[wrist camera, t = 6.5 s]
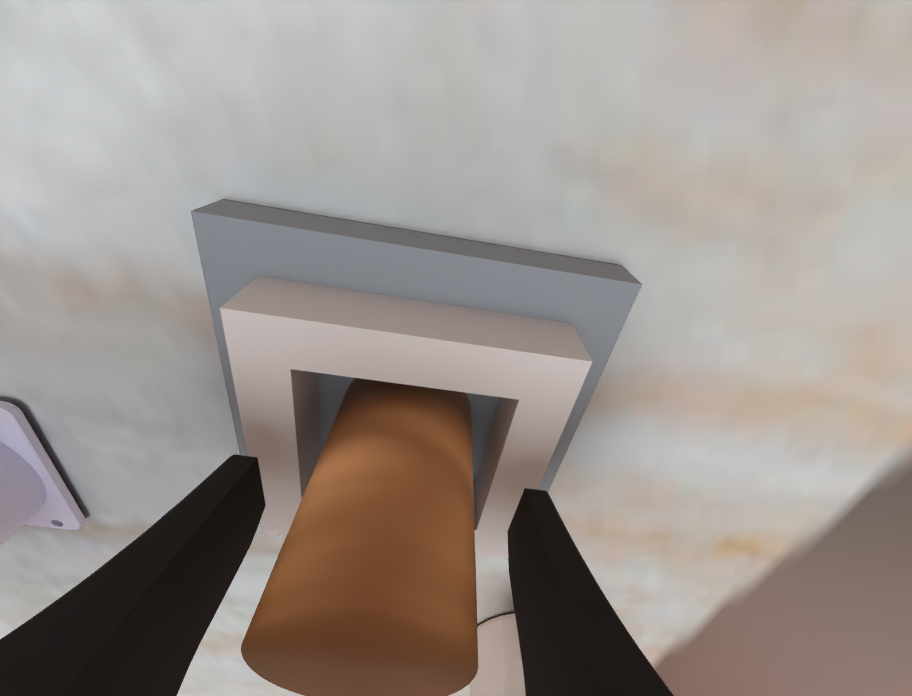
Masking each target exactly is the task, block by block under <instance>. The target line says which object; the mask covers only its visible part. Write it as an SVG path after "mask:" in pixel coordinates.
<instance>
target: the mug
mask: <svg viewBox="0 0 912 696" xmlns="http://www.w3.org/2000/svg"><path fill="white" fill-rule="evenodd" d="M477 636H478V671H477V674H476V676H475V678H474V679H473V680H472V681H471V682H470V696H526V693H525V683H524V674H523V665H522V658H521V651H520V645H519V638H518V631H517V624H516V617H515V613H513V614H508V615H502V616H499V617H496V618H493V619H490V620H488V621H486V622H484V623H483V624H481V625H479V626H478V627H477Z"/></svg>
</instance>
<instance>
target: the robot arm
mask: <svg viewBox="0 0 912 696" xmlns="http://www.w3.org/2000/svg"><path fill="white" fill-rule="evenodd" d="M265 506H266V504H265V498H264V492H263V487H262V481H261V475H260V469H259V463H258V457H251V456H242V455H232V456H231V457H229V458H228V459H227V460H226V461H225V462H224V463H223V464H222V465H221V466H219V467H218V468H217V469H216V470H215V471H214V472H213V473H212V474H211V475H210V476H209V477H207V478H206V479H205V480H204V481H203V482H202V483H201V484H200V485H199V486H197V487H196V488H195V489H194V490H193V491H192V492H191V493H190V494H188V495H187V496H186V497H185V498H184V499H183V500H182V501H181V502H179V503H178V504H177V505H176V506H175V507H174V508H172V509H171V510H170V511H169V512H168V513H167V514H165V515H164V516H163V517H162V518H161V519H160V520H158V521H157V522H156V523H155V524H154V525H153V526H151V527H150V528H149V529H148V530H147V531H145V532H144V533H143V534H142V535H141V536H139V537H138V538H137V539H136V540H134V541H133V542H132V543H131V544H129V545H128V546H127V547H126V548H124V549H123V550H122V551H121V552H119V553H118V554H117V555H116V556H114V557H113V558H112V559H111V560H109V561H108V562H107V563H106V564H104V565H103V566H102V567H101V568H99V569H98V570H97V571H95V572H94V573H93V574H91V575H90V576H89V577H87V578H86V579H85V580H83V581H82V582H81V583H80V584H78V585H77V586H75V587H74V588H73V589H71V590H70V591H69V592H67V593H66V594H65V595H63V596H62V597H61V598H59V599H58V600H56V601H55V602H54V603H52V604H51V605H49V606H48V607H47V608H45V609H44V610H42V611H41V612H40V613H38V614H37V615H35V616H34V617H33V618H31V619H30V620H28V621H27V622H25V623H24V624H22V625H21V626H19V627H18V628H17V629H15V630H14V631H12V632H11V633H9V634H8V635H6V636H5V637H3V638H2V639H0V696H177V693H178V691H179V689H180V686H181V684H182V681H183V679H184V677H185V674H186V672H187V670H188V667H189V665H190V663H191V661H192V659H193V657H194V654H195V652H196V650H197V648H198V646H199V644H200V642H201V640H202V638H203V636H204V634H205V632H206V630H207V628H208V627H209V625H210V623H211V621H212V619H213V617H214V615H215V613H216V611H217V609H218V607H219V605H220V603H221V601H222V600H223V598H224V596H225V594H226V592H227V590H228V588H229V586H230V584H231V582H232V580H233V578H234V576H235V575H236V573H237V571H238V569H239V567H240V565H241V563H242V561H243V559H244V557H245V555H246V553H247V551H248V549H249V547H250V545H251V542H252V540H253V537H254V535H255V532H256V530H257V527H258V525H259V522H260V520H261V517H262V514H263V512H264V509H265ZM85 521H86V520H85V517H84V515H83V514H82V512H81V510H80V509H79V507H78V505H77V503H76V502H75V500H74V498H73V497H72V495H71V493H70V492H69V490H68V488H67V487H66V485H65V483H64V482H63V480H62V478H61V476H60V475H59V473H58V471H57V470H56V468H55V466H54V465H53V463H52V461H51V460H50V458H49V456H48V455H47V453H46V451H45V449H44V448H43V446H42V444H41V443H40V441H39V439H38V438H37V436H36V434H35V433H34V431H33V429H32V427H31V426H30V424H29V422H28V421H27V419H26V417H25V416H24V414H23V412H22V411H21V410H20V409H19V408H18V407H17V406H15V405H14V404H11V403H9V402H5V401H0V546H1V545H2V544H3V543H5V542H6V541H7V540H8V539H9V538H10V537H11V536H12V535H13V534H14V533H15V532H16V531H17V530H18V529H19V528H20V527H21V526H22V525H27V526H38V527H48V528H58V529H68V530H76V529H79V528H80V527H81V526H82V525H83V524H84V523H85ZM507 533H508V560H509V575H510V582H511V589H512V596H513V603H514V610H515V617H516V624H517V631H518V638H519V645H520V651H521V658H522V665H523V674H524V683H525V693H526V696H674V695H673V694H672V693H671V691H670V690H669V689H668V687H667V686H666V685H665V683H664V682H663V680H662V679H661V678H660V677H659V675H658V674H657V672H656V671H655V670H654V668H653V667H652V666H651V664H650V663H649V661H648V660H647V658H646V657H645V656H644V654H643V653H642V651H641V650H640V649H639V647H638V646H637V644H636V643H635V641H634V640H633V638H632V637H631V636H630V634H629V633H628V631H627V630H626V628H625V627H624V625H623V624H622V622H621V620H620V619H619V617H618V616H617V614H616V613H615V611H614V610H613V608H612V606H611V605H610V603H609V602H608V600H607V599H606V597H605V595H604V594H603V592H602V590H601V589H600V587H599V585H598V584H597V582H596V580H595V579H594V577H593V575H592V574H591V572H590V570H589V568H588V567H587V565H586V563H585V561H584V560H583V558H582V556H581V555H580V553H579V551H578V549H577V547H576V546H575V544H574V542H573V540H572V538H571V536H570V534H569V533H568V531H567V529H566V527H565V525H564V523H563V521H562V519H561V517H560V515H559V514H558V512H557V510H556V508H555V506H554V504H553V502H552V500H551V498H550V496H549V494H548V492H547V491H545V490H536V489H528V488H525V489H524V491H523V494H522V496H521V499H520V501H519V504H518V506H517V509H516V511H515V514H514V516H513V519H512V521H511V524H510V526H509V529H508V531H507Z"/></svg>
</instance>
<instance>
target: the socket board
mask: <svg viewBox="0 0 912 696" xmlns="http://www.w3.org/2000/svg"><path fill="white" fill-rule="evenodd" d="M191 214H192V219H193V224H194V229H195V234H196V239H197V244H198V249H199V254H200V258H201V263H202V268H203V273H204V278H205V283H206V288H207V293H208V298H209V303H210V308H211V313H212V318H213V323H214V328H215V333H216V338H217V342H218V347H219V352H220V357H221V362H222V367H223V372H224V377H225V382H226V387H227V392H228V397H229V402H230V407H231V412H232V417H233V422H234V426H235V431H236V436H237V441H238V446H239V451H240V455H242V456H251V457H258V463H259V469H260V475H261V481H262V487H263V492H264V498H265V504H266V506H265V509H264V512H263V514H262V517H261V520H260V525H261V530H262V533H269V534H279V535H287V534H288V531H289V529H290V527H291V524H292V522H293V519H294V517H295V514H296V512H297V510H298V507H299V505H300V502H301V500H302V498H303V495H304V493H305V490H306V488H307V485H308V483H309V481H310V478H311V476H312V473H313V471H314V469H315V466H316V464H317V461H318V459H319V456H320V454H321V452H322V449H323V447H324V444H325V442H326V440H327V437H328V435H329V432H330V430H331V428H332V425H333V423H334V420H335V418H336V415H337V413H338V411H339V408H340V406H341V403H342V401H343V399H344V396H345V394H346V391H347V389H348V387H349V386H350V384H351V383H352V382H353V380H354V379H355V378H361V379H368V380H376V381H383V382H391V383H398V384H406V385H413V386H420V387H428V388H435V389H443V390H450V391H458V392H465V393H466V395H467V397H468V400H469V403H470V407H471V424H472V459H473V495H474V530H475V554H478V555H488V556H498V557H508V533H507V531H508V529H509V526H510V524H511V521H512V519H513V516H514V514H515V511H516V509H517V506H518V504H519V501H520V499H521V496H522V494H523V491H524V489H525V488H528V489H536V490H545V491H547V492H548V490H549V488H550V486H551V484H552V482H553V479H554V477H555V475H556V473H557V471H558V468H559V466H560V464H561V462H562V460H563V457H564V455H565V453H566V451H567V449H568V446H569V444H570V442H571V440H572V437H573V435H574V433H575V431H576V429H577V426H578V424H579V422H580V420H581V418H582V415H583V413H584V411H585V409H586V407H587V404H588V402H589V400H590V398H591V396H592V393H593V391H594V389H595V387H596V385H597V382H598V380H599V378H600V376H601V374H602V371H603V369H604V367H605V365H606V363H607V360H608V358H609V356H610V354H611V352H612V349H613V347H614V345H615V343H616V341H617V338H618V336H619V334H620V332H621V330H622V327H623V325H624V323H625V321H626V319H627V316H628V314H629V312H630V310H631V308H632V305H633V303H634V301H635V299H636V297H637V294H638V292H639V290H640V288H641V286H642V284H641V283H640V282H639V281H638V280H637V279H636V278H635V277H634V276H633V275H632V274H631V273H629V272H628V271H627V270H626V269H625V268H624V267H623V266H621V265H615V264H609V263H603V262H597V261H591V260H585V259H579V258H573V257H567V256H561V255H555V254H549V253H543V252H537V251H531V250H525V249H519V248H513V247H507V246H501V245H495V244H489V243H483V242H477V241H471V240H465V239H458V238H452V237H446V236H440V235H434V234H428V233H422V232H416V231H410V230H404V229H398V228H392V227H386V226H380V225H374V224H368V223H362V222H356V221H350V220H344V219H338V218H332V217H326V216H320V215H314V214H308V213H302V212H296V211H290V210H284V209H278V208H272V207H266V206H260V205H254V204H248V203H242V202H235V201H229V200H223V199H222V200H219V201H217V202H214V203H211V204H209V205H206V206H203V207H201V208H198V209H195V210H193V211H191Z"/></svg>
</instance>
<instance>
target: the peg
mask: <svg viewBox="0 0 912 696" xmlns="http://www.w3.org/2000/svg"><path fill="white" fill-rule="evenodd" d="M241 652H242V656H243V659H244V660H245V662H246V664H247V665H248V666H249V667H250V668H251V669H252V670H253V671H254V672H255V673H257V674H258V675H259V676H261V677H262V678H264V679H266V680H267V681H269V682H271V683H273V684H275V685H277V686H279V687H282V688H284V689H287V690H289V691H292V692H295V693H298V694H301V695H305V696H448V695H450V694H453V693H455V692H457V691H459V690H461V689H463V688H464V687H465V686H467V685H468V684H469V683H470V682H471V681H472V680H473V679H474V678H475V676H476V674H477V671H478V636H477V601H476V565H475V530H474V495H473V459H472V424H471V407H470V403H469V400H468V397H467V395H466V393H465V392H458V391H450V390H443V389H435V388H428V387H420V386H413V385H406V384H398V383H391V382H383V381H376V380H368V379H361V378H355V379H354V380H353V382H352V383H351V384H350V386H349V387H348V389H347V391H346V394H345V396H344V399H343V401H342V403H341V406H340V408H339V411H338V413H337V415H336V418H335V420H334V423H333V425H332V428H331V430H330V432H329V435H328V437H327V440H326V442H325V444H324V447H323V449H322V452H321V454H320V456H319V459H318V461H317V464H316V466H315V469H314V471H313V473H312V476H311V478H310V481H309V483H308V485H307V488H306V490H305V493H304V495H303V498H302V500H301V502H300V505H299V507H298V510H297V512H296V514H295V517H294V519H293V522H292V524H291V527H290V529H289V531H288V534H287V536H286V539H285V541H284V543H283V546H282V548H281V551H280V553H279V555H278V558H277V560H276V563H275V565H274V568H273V570H272V572H271V575H270V577H269V580H268V582H267V584H266V587H265V589H264V592H263V594H262V597H261V599H260V601H259V604H258V606H257V609H256V611H255V613H254V616H253V618H252V621H251V623H250V626H249V628H248V630H247V633H246V635H245V638H244V640H243V643H242V645H241Z"/></svg>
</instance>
